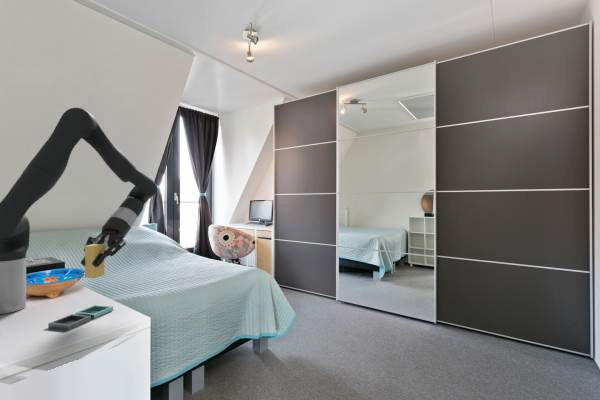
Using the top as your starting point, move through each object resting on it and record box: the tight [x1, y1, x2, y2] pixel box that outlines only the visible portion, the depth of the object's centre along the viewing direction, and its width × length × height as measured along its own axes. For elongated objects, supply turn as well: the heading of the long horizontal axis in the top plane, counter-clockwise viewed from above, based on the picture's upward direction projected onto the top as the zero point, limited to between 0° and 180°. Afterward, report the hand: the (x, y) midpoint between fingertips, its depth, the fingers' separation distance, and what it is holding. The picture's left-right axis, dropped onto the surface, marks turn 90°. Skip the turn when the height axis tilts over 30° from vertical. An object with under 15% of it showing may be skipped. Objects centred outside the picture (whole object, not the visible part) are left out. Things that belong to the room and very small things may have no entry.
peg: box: [84, 244, 105, 279], centre depth 94 cm, size 4×4×10 cm
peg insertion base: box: [43, 304, 114, 334], centre depth 90 cm, size 7×17×2 cm, turn 168°
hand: (89, 265), depth 93 cm, fingers closed on peg, 3 cm apart
